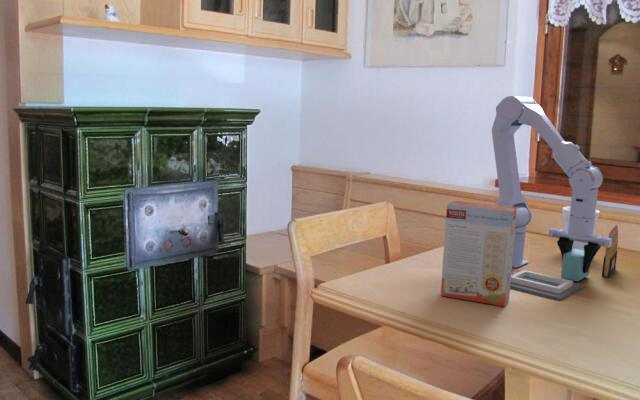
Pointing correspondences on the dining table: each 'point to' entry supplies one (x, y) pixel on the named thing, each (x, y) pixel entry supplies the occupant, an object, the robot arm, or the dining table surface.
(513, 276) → the grey square tray
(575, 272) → the light blue rectangular block
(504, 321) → the dining table surface
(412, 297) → the dining table surface
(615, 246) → the ammunition clip
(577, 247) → the cup
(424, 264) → the dining table surface
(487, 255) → the cracker box
